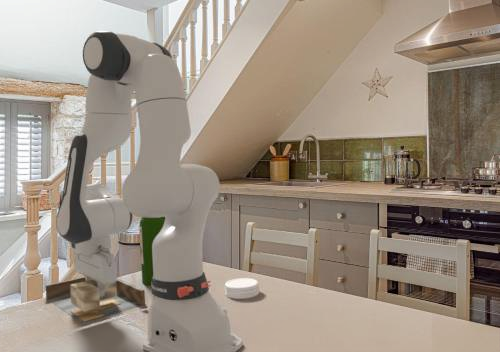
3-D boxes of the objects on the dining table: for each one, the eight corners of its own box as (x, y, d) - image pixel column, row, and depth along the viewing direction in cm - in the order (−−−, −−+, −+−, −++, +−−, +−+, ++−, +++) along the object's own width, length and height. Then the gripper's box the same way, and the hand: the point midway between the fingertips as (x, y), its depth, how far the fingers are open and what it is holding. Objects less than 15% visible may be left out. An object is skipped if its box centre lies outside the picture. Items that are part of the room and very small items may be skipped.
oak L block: (110, 293, 121) (109, 275, 121) (125, 300, 115) (124, 282, 115) (71, 303, 114) (70, 284, 114) (84, 311, 107) (83, 292, 107)
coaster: (262, 289, 129) (262, 278, 129) (254, 300, 120) (254, 288, 119) (231, 288, 132) (230, 276, 131) (220, 299, 122) (220, 287, 122)
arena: (145, 306, 118) (144, 290, 117) (81, 325, 106) (80, 307, 106) (103, 286, 138) (103, 272, 137) (46, 300, 126) (45, 285, 126)
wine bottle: (141, 280, 142) (136, 183, 140) (168, 277, 145) (164, 181, 143) (143, 288, 134) (137, 185, 132) (172, 285, 136) (167, 183, 135)
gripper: (121, 246, 110) (124, 299, 111) (90, 237, 125) (92, 283, 126) (98, 251, 106) (101, 306, 107) (68, 240, 121) (70, 288, 122)
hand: (96, 293), depth 117 cm, fingers closed on oak L block, 4 cm apart
